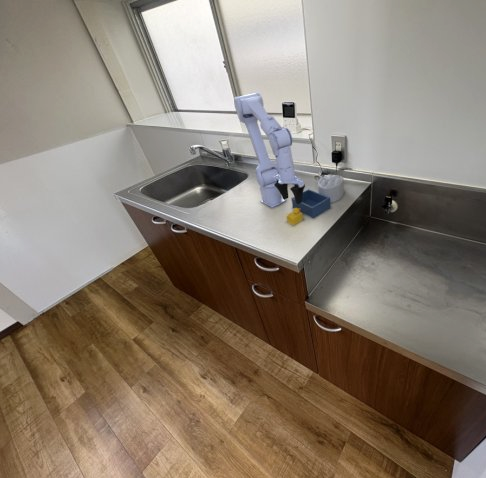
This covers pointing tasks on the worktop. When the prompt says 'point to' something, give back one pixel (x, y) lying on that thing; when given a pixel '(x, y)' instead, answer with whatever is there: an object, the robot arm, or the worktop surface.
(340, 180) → the lumpy-topped squat cylinder
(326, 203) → the open box
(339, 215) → the worktop surface
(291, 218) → the duck
